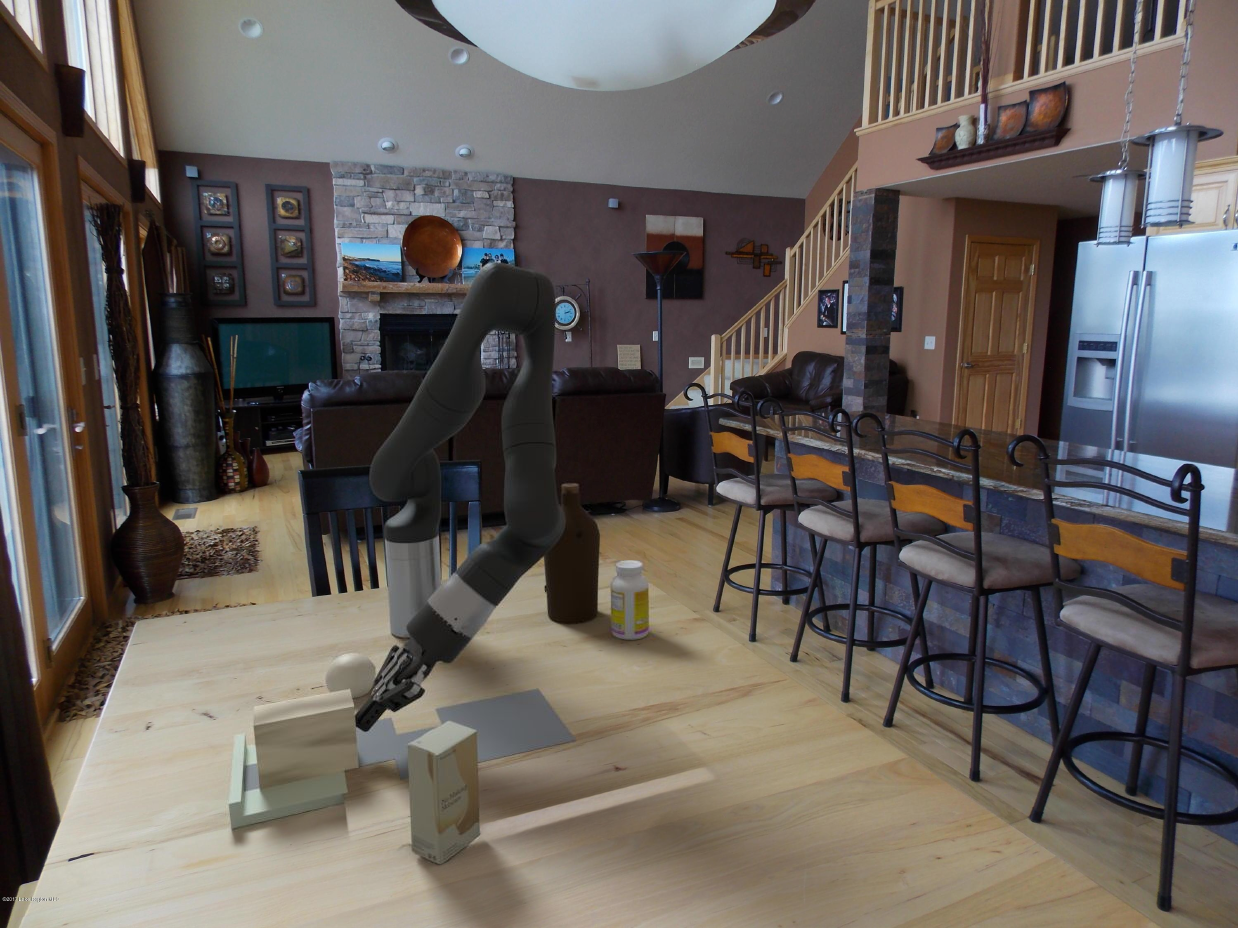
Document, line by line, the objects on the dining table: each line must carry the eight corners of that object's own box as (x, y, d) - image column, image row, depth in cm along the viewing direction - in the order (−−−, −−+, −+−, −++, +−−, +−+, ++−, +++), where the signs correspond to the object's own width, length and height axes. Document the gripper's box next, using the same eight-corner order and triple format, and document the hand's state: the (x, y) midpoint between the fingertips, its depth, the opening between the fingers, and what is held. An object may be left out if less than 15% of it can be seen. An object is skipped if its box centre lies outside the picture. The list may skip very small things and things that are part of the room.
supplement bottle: (650, 627, 143) (649, 558, 140) (647, 641, 136) (647, 570, 134) (613, 626, 143) (612, 557, 141) (609, 640, 137) (608, 569, 135)
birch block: (259, 767, 96) (253, 706, 95) (354, 747, 101) (350, 688, 99) (259, 789, 92) (253, 725, 90) (358, 767, 96) (354, 706, 95)
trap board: (236, 756, 101) (234, 734, 101) (538, 696, 117) (537, 676, 116) (231, 828, 87) (228, 803, 86) (576, 748, 102) (575, 727, 102)
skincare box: (440, 867, 80) (434, 756, 78) (410, 852, 83) (403, 744, 80) (483, 832, 86) (478, 728, 83) (453, 820, 88) (448, 717, 86)
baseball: (387, 689, 119) (385, 647, 118) (358, 711, 113) (354, 667, 111) (349, 683, 121) (346, 642, 120) (318, 705, 115) (314, 661, 113)
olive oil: (612, 612, 150) (611, 483, 146) (574, 629, 142) (572, 493, 137) (570, 600, 156) (568, 476, 152) (532, 616, 148) (528, 485, 144)
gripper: (420, 584, 106) (330, 688, 103) (440, 617, 94) (339, 735, 91) (462, 616, 109) (375, 717, 106) (486, 651, 97) (389, 767, 94)
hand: (358, 726), depth 98 cm, fingers closed
